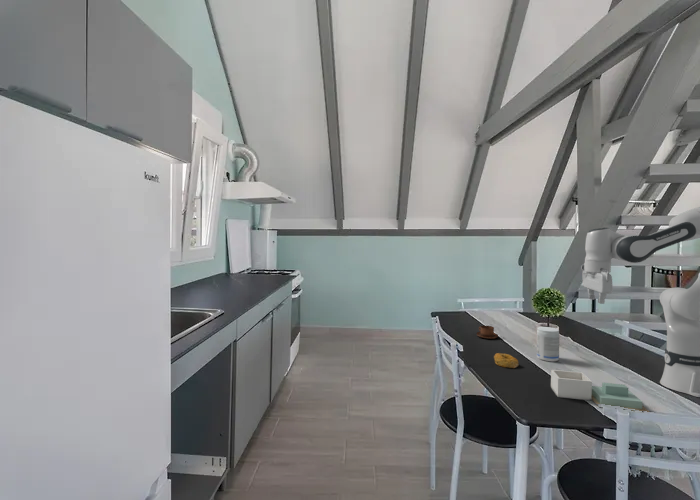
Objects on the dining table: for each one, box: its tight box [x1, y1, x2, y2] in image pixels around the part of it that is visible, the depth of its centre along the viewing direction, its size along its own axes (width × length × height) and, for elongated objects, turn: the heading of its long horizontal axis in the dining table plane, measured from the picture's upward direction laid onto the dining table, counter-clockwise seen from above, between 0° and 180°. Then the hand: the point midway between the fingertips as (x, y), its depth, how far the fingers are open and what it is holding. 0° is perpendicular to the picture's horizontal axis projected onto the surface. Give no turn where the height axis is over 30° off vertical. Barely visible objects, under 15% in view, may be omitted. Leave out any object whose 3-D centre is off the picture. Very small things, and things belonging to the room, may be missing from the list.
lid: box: [592, 382, 643, 409], centre depth 131 cm, size 12×10×6 cm
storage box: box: [550, 369, 593, 401], centre depth 137 cm, size 11×9×7 cm
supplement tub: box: [536, 326, 560, 362], centre depth 176 cm, size 10×10×15 cm
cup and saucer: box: [476, 325, 499, 340], centre depth 214 cm, size 12×12×6 cm
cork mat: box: [591, 395, 650, 412], centre depth 131 cm, size 15×14×1 cm
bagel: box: [493, 352, 519, 369], centre depth 168 cm, size 10×11×5 cm
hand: (596, 301), depth 148 cm, fingers open, 8 cm apart
